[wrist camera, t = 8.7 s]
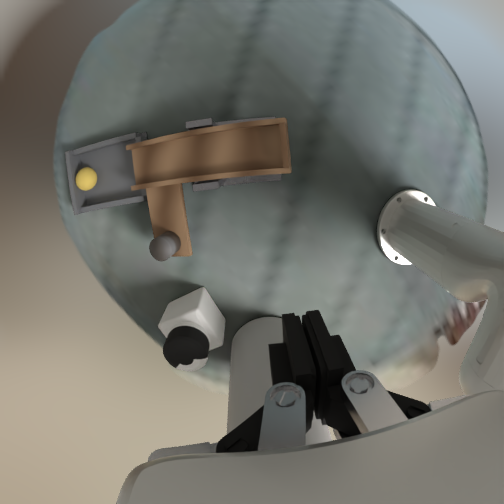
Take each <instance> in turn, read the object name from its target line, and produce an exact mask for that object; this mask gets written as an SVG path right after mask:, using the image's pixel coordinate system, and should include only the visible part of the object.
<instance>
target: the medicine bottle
mask: <svg viewBox="0 0 504 504" xmlns="http://www.w3.org/2000/svg"><path fill="white" fill-rule="evenodd" d="M225 321H226V320H225V318H224V316H223V315H222V313H221V312H220V310H219V309H218V307H217V306H216V304H215V303H214V301H213V299H212V298H211V296H210V295H209V293H208V292H207V290H206V289H205V287H201V288H199V289H197V290H195V291H193V292H191V293H189V294H186V295H184V296H182V297H180V298H178V299H176V300H174V301H172V302H170V303H168V305H167V308H166V310H165V312H164V314H163V316H162V318H161V320H160V322H159V325H158V327H159V329H160V330H161V331H162V333H163V334H164V335H165V337H166V338H167V339H166V341H165V344H164V347H163V354H164V357H165V358H166V360H167V361H168V362H169V363H170V364H171V365H172V366H173V367H175V368H177V369H179V370H183V371H195V370H198V369H200V368H202V367H203V366H204V365H205V364H206V362H207V360H208V354H209V350H212V349H215V348H217V347H220V346H222V345H223V340H224V331H225Z"/></svg>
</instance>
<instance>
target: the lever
mask: <svg viewBox="0 0 504 504" xmlns="http://www.w3.org/2000/svg"><path fill="white" fill-rule="evenodd" d="M126 150H132V158H133V166H134V174H135V181H136V185H134V186H131V190H132V191H133V190H139V189H146V193H147V200H148V206H149V212H150V218H151V223H152V229H153V234H154V239H153V240H152V241H151V243H150V246H149V249H150V253H151V255H152V256H153V257H154V258H155V259H156V260H158V261H165V260H167V259H168V258H170V257H171V256H191V255H192V254H193V253H192V247H191V241H190V235H189V229H188V223H187V216H186V209H185V202H184V195H183V188H182V183H188V182H196V181H204V180H213V179H222V178H233V177H244V176H256V175H269V174H285V173H291V172H292V171H291V159H290V147H289V137H288V126H287V119H286V118H275V119H265V120H255V121H247V122H239V123H232V124H225V125H219V126H213V127H207V128H201V129H196V130H190V131H185V132H180V133H176V134H171V135H167V136H162V137H158V138H154V139H150V140H146V141H142V142H138V143H134V144H130V145H127V146H126Z"/></svg>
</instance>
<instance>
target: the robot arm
mask: <svg viewBox="0 0 504 504" xmlns="http://www.w3.org/2000/svg"><path fill="white" fill-rule="evenodd" d="M382 229H383V230H382ZM377 237H378V242H379V246H380V248H381V250H382V252H383V253H384V254H385V255H386V257H388V258H389V259H390V260H391V261H393V262H395V263H397V264H400V265H409V264H413V265H414V266H415V267H417V268H418V269H419V270H421V271H422V272H423V273H425V274H426V275H427V276H428V277H430V278H431V279H432V280H434V281H435V282H436V283H437V284H439V285H440V286H441V287H442V288H444V289H445V290H446V291H447V292H449V293H450V294H451V295H453V296H454V297H455V298H457V299H458V300H461V301H463V302H469V303H472V302H479V301H483V300H486V299H488V302H487V306H486V309H485V312H484V314H483V318H482V321H481V323H480V325H479V328H478V330H477V332H476V335H475V337H474V339H473V341H472V343H471V345H470V347H469V349H468V351H467V353H466V356H465V358H464V360H463V362H462V365H461V368H460V373H459V384H460V387H461V389H462V391H463V393H464V394H465V395H462V396H458V397H453V398H448V399H443V400H437V401H431V402H429V404H427V405H426V404H425V403H423V402H421V401H418V400H414V399H411V398H408V397H405V396H402V395H399V394H396V393H393V392H390V391H387V390H386V389H385V388H384V387H383V385H382V384H381V383H380V381H379V380H378V379H377V378H376V377H375V376H374V375H373V374H372V373H370V372H368V371H363V370H357V371H356V369H355V367H354V365H353V363H352V360H351V358H350V356H349V354H348V352H347V350H346V348H345V346H344V344H343V342H342V339H341V337H340V336H339V335H334V336H330V334H329V332H328V330H327V327H326V325H325V323H324V321H323V318H322V316H321V314H320V312H319V310H314V311H307V312H306V315H302V323H301V320H300V317H299V316H295V314H294V313H290V314H282V329H283V343H274V344H268V346H269V358H270V369H271V378H272V387H270V388H269V390H268V391H267V393H266V395H265V402H264V405H263V406H262V407H261V408H259V409H258V410H257V411H256V412H255V413H253V414H252V415H251V416H250V417H249V418H247V419H246V420H245V421H244V422H242V423H241V424H240V425H239V426H237V427H236V428H235V429H233V430H232V431H231V432H230V433H228V434H227V435H226V436H224V437H223V438H222V439H221V440H220V441H219V442H218V443H213V444H210V443H209V442H205V443H200V444H193V445H186V446H179V447H171V448H162V449H158V450H156V451H154V452H153V453H151V455H150V456H149V458H148V462H146V463H143V464H141V465H139V466H137V467H136V468H134V469H133V470H132V471H131V472H130V473H129V475H128V476H127V478H126V480H125V482H124V484H123V486H122V488H121V491H120V494H119V497H118V500H117V503H116V504H504V232H501V231H498V230H496V229H493V228H491V227H488V226H486V225H484V224H481V223H478V222H476V221H474V220H471V219H469V218H466V217H463V216H461V215H458V214H456V213H453V212H450V211H447V210H445V209H442V208H439V207H436V205H435V203H434V202H433V200H432V199H431V198H430V197H429V196H428V195H427V194H425V193H423V192H421V191H418V190H413V189H410V190H404V191H401V192H399V193H397V194H395V195H394V196H393V197H391V198H390V199H389V201H388V202H387V203H386V204H385V206H384V208H383V209H382V211H381V214H380V216H379V220H378V224H377ZM314 413H315V417H316V419H321V423H322V425H328V426H330V427H332V428H333V431H334V434H335V436H336V439H337V440H333V441H328V442H323V443H317V444H312V445H306V433H307V432H308V431H309V430H310V429H311V426H312V420H313V415H314Z"/></svg>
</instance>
